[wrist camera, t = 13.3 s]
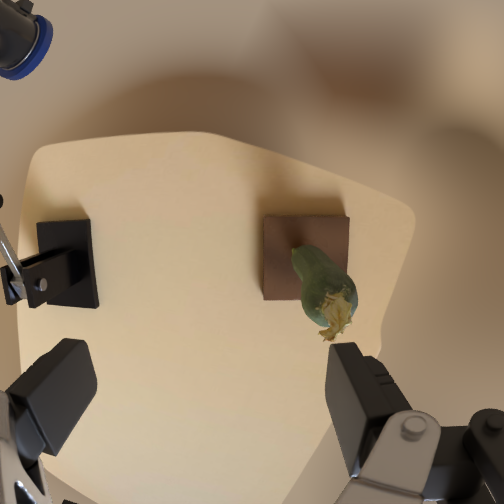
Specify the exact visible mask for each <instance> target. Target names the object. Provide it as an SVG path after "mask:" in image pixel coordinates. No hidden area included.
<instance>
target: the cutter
mask: <svg viewBox="0 0 504 504" xmlns="http://www.w3.org/2000/svg"><path fill="white" fill-rule="evenodd" d="M36 225H37V237H38V247H39V253H38V254H35V255H33V256H30V257H27V258H24V259H22V260H19V261H20V263H21V265H22V267H25V268H23V269H22V271H23V277H24V283H25V289H26V294H27V300H28V305H29V308H37V307H38V306H40V305H41V304H43V303H45V302H46V301H47V304H49V305H59V306H69V307H81V308H93V309H96V308H97V307H99V300H98V293H97V285H96V278H95V269H94V260H93V250H92V238H91V223H90V219H85V220H66V221H49V222H39V223H36ZM0 271H1V277H2V283H3V289H4V294H5V299H6V304H7V305H13V304H15V303H17V302H18V301H20V300H22V298H20V297H19V295H18V294H17V292H16V291H15V289H14V287H13V286H12V284H11V283H10V281H11V279H12V278H13V276H14V274H13V272H12V271H11V269H10V267H9V265H6V266H4V267H1V268H0Z"/></svg>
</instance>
